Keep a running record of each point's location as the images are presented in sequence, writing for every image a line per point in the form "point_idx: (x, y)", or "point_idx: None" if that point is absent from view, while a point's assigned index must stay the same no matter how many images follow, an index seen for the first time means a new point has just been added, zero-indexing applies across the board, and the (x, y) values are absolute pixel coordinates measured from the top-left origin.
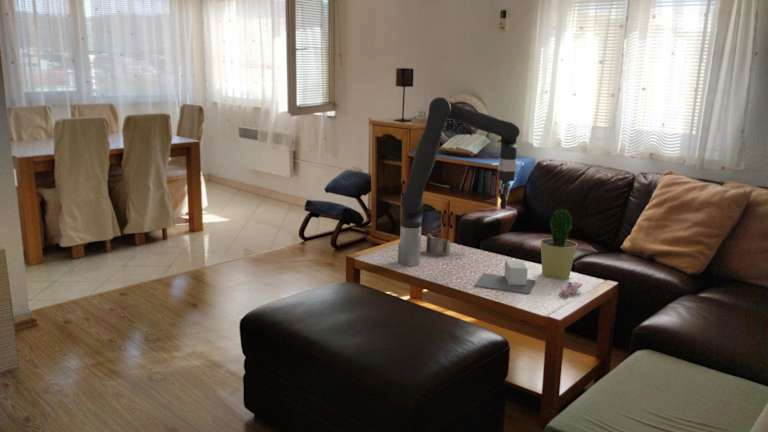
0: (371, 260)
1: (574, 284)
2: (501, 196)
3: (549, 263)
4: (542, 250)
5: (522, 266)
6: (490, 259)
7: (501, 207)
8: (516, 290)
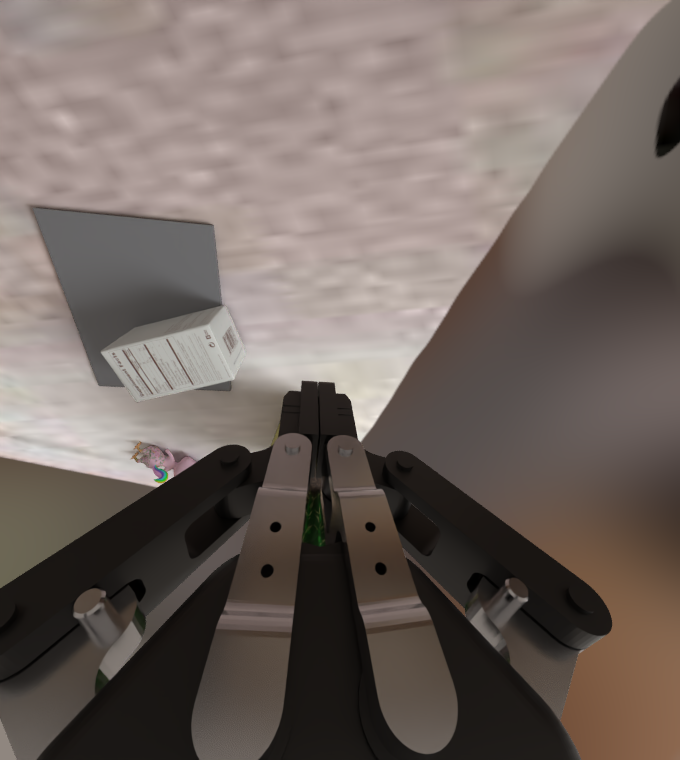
0: None
1: None
2: (264, 481)
3: (272, 442)
4: None
5: (149, 387)
6: (425, 228)
7: (289, 394)
8: (95, 353)
